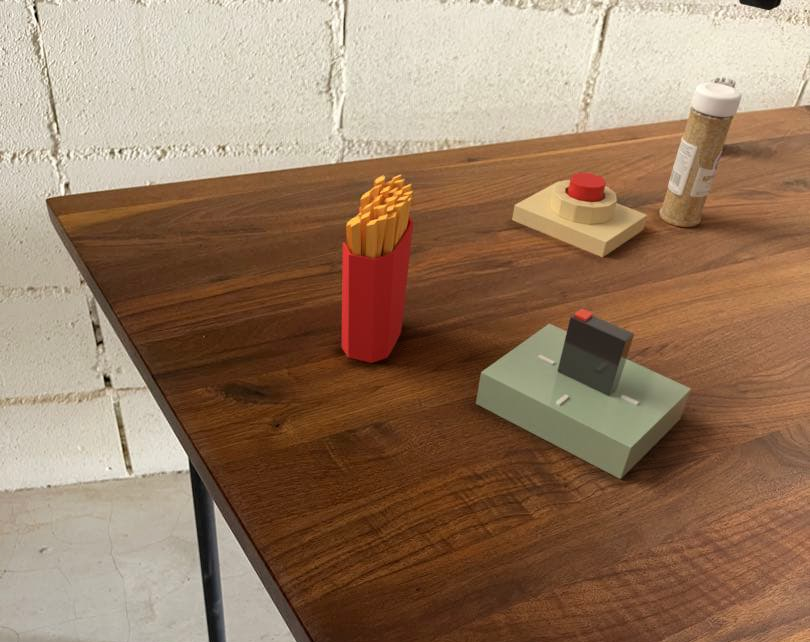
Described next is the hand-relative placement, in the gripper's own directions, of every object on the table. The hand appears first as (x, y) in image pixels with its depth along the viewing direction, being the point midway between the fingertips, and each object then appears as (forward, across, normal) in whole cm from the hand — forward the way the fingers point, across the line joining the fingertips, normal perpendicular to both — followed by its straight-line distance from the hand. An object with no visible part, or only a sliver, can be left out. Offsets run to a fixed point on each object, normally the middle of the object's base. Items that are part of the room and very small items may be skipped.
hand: (758, 5), depth 78 cm
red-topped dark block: (+19, -35, -7) cm, 40 cm away
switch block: (+22, -6, +10) cm, 25 cm away
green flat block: (+22, -35, -7) cm, 42 cm away
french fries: (+22, -39, +11) cm, 46 cm away
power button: (+19, -6, +10) cm, 22 cm away
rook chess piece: (+22, +26, +10) cm, 36 cm away
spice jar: (+22, +4, +3) cm, 23 cm away
